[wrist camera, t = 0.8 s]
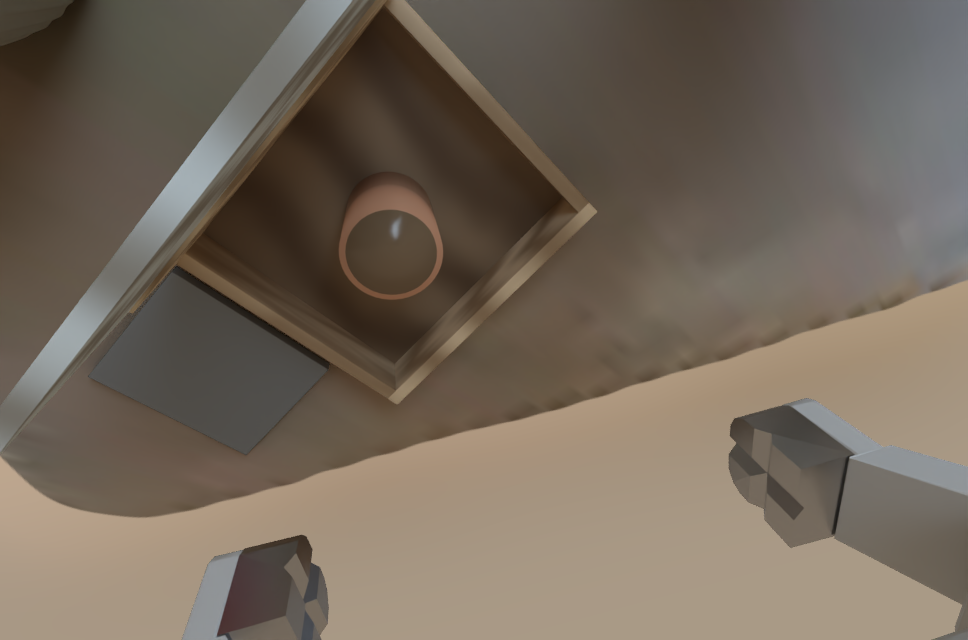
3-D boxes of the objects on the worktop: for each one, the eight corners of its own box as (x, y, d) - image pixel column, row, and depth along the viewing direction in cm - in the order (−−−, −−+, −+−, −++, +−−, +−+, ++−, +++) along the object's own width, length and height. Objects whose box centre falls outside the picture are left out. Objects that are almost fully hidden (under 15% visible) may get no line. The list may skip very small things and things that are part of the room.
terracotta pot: (384, 152, 37) (385, 181, 30) (449, 211, 40) (464, 249, 33) (328, 217, 39) (316, 258, 32) (394, 269, 42) (397, 318, 35)
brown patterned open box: (381, -19, 33) (381, -100, 12) (575, 193, 42) (762, 350, 21) (186, 229, 38) (-43, 462, 18) (395, 370, 47) (406, 634, 27)
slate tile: (176, 266, 39) (171, 271, 39) (329, 363, 46) (328, 369, 45) (93, 369, 42) (87, 376, 41) (248, 447, 49) (246, 455, 48)
